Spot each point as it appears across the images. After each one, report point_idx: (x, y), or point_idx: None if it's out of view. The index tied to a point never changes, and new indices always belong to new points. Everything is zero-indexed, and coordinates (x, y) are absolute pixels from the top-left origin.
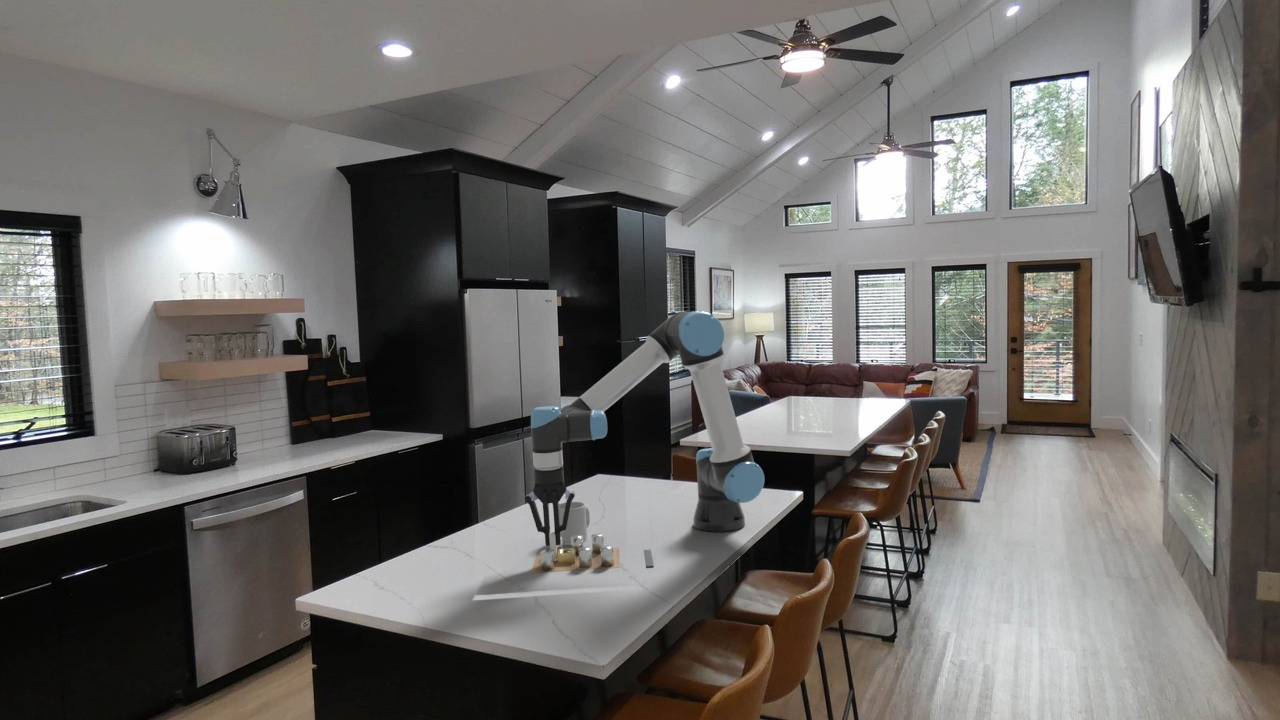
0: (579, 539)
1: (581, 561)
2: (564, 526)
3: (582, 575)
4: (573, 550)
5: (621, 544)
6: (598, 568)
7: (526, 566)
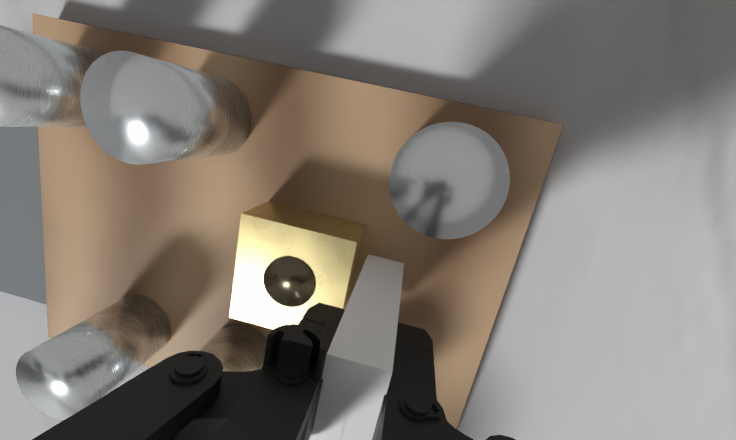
0: None
1: (216, 83)
2: (164, 384)
3: (254, 33)
4: (244, 278)
5: None
6: (147, 41)
7: (535, 323)
